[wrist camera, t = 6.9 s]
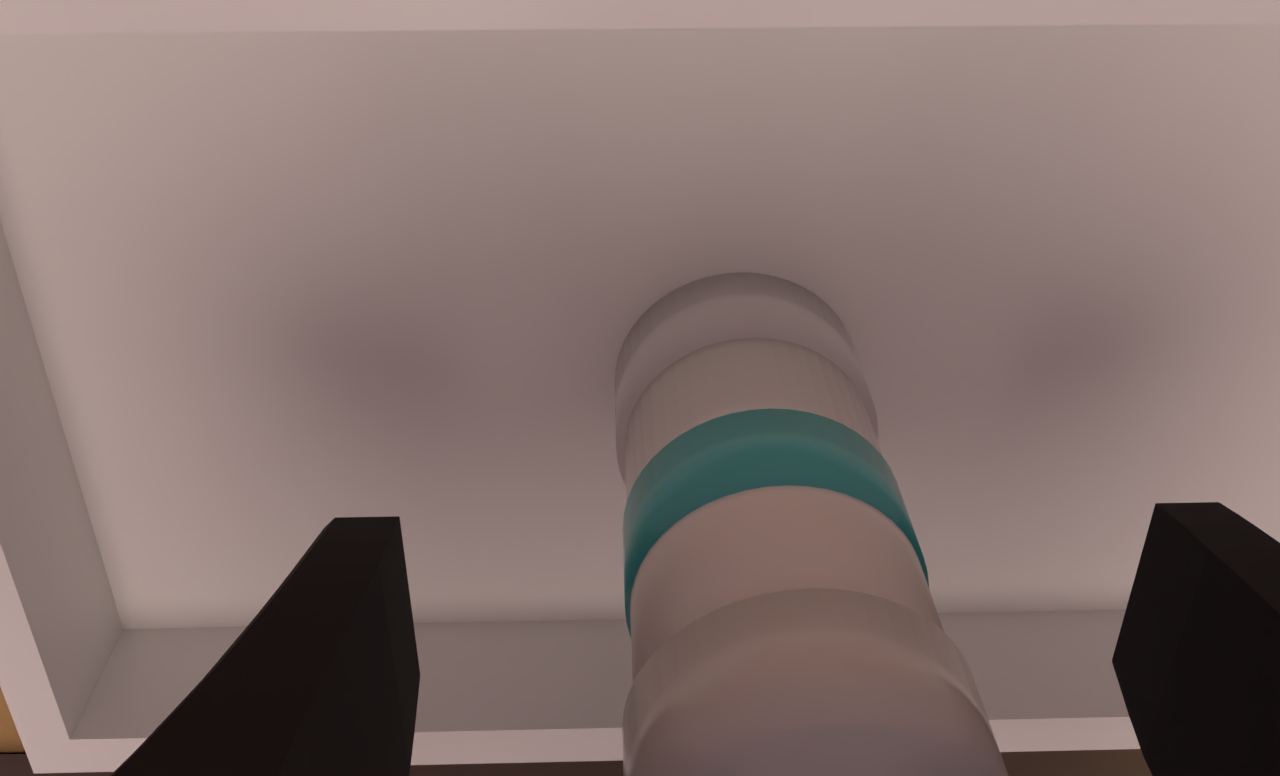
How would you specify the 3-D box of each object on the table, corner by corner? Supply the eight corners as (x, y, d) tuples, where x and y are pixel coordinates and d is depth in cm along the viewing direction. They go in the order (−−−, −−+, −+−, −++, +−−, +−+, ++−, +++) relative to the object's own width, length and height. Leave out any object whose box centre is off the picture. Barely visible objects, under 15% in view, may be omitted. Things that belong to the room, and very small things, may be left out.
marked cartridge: (844, 477, 16) (992, 979, 10) (616, 480, 16) (626, 989, 10) (867, 271, 14) (1060, 718, 8) (613, 273, 14) (623, 728, 8)
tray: (1322, 612, 18) (1419, 742, 16) (102, 636, 18) (33, 772, 16) (1601, -101, 13) (1801, -49, 11) (-126, -91, 12) (-278, -36, 10)
